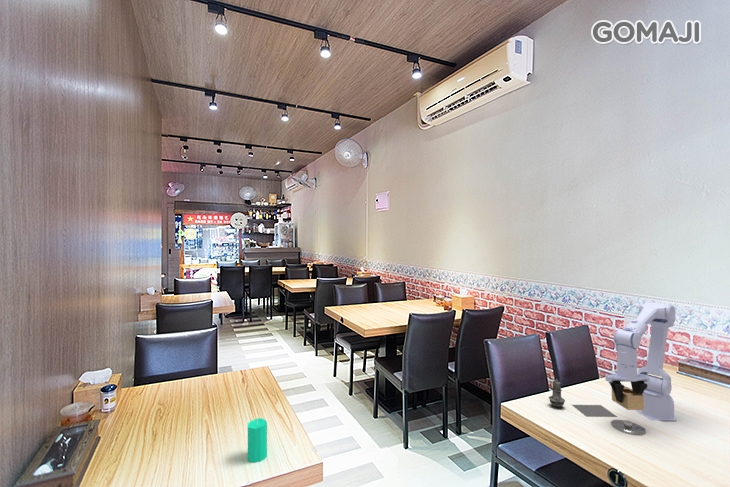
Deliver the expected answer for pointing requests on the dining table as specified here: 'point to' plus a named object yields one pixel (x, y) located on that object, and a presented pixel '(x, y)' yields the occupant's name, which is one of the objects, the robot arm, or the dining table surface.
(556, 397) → the stepped metal shaft
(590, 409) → the mat
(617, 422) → the hub
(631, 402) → the wooden cubby box
